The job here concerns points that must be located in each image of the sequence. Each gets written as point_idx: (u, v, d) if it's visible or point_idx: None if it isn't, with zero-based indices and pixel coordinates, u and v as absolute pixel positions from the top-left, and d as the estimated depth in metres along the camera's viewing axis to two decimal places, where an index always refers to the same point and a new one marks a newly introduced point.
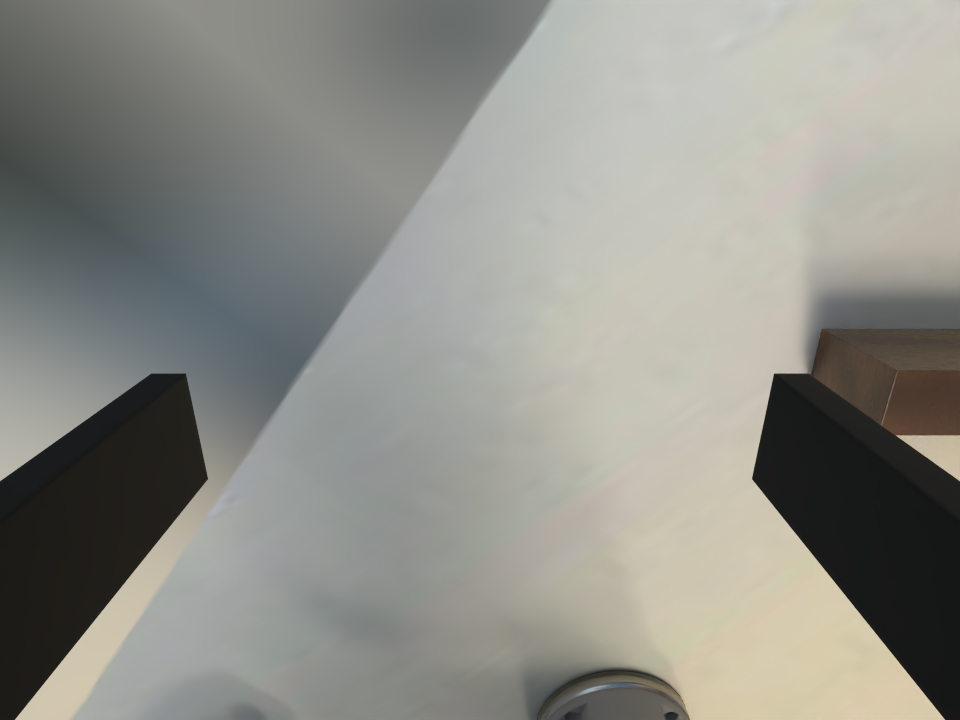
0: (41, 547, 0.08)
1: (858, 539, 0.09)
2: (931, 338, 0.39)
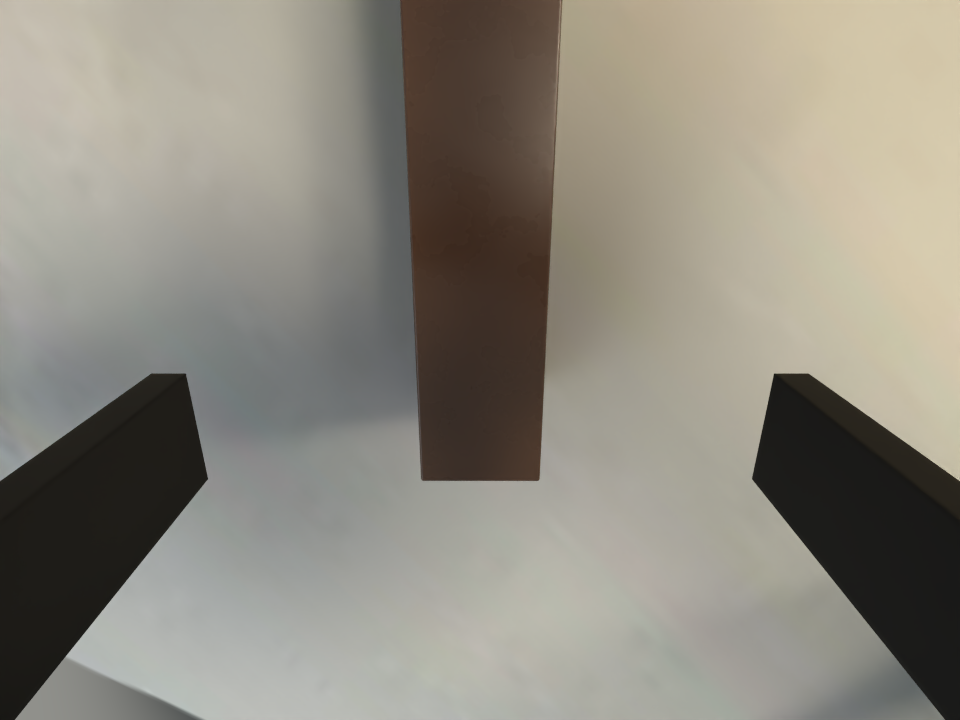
0: (41, 547, 0.08)
1: (858, 539, 0.09)
2: None
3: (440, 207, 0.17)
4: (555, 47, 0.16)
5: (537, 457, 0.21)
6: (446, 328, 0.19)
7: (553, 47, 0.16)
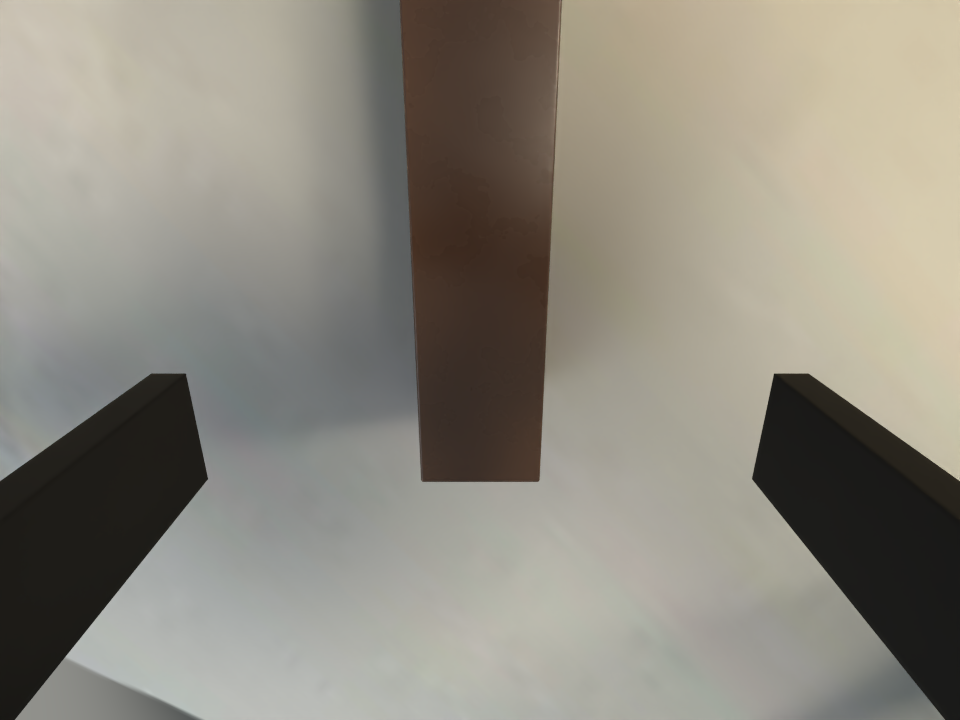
0: (41, 547, 0.08)
1: (858, 539, 0.09)
2: None
3: (440, 208, 0.17)
4: (555, 48, 0.16)
5: (537, 458, 0.21)
6: (446, 329, 0.19)
7: (553, 48, 0.16)
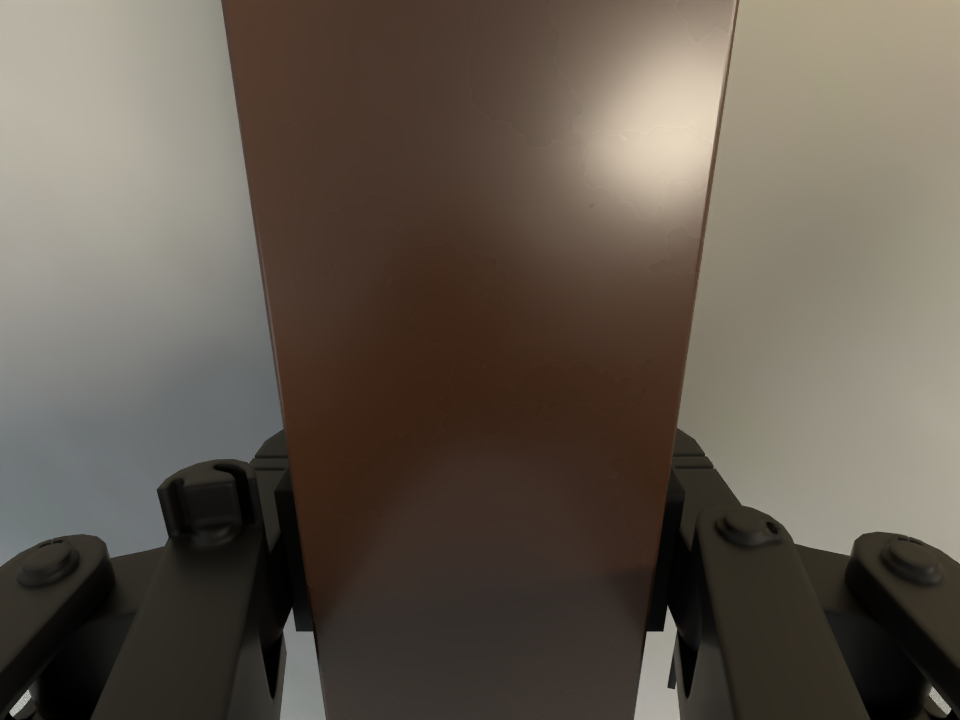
0: None
1: None
2: None
3: (361, 343, 0.06)
4: None
5: None
6: (391, 626, 0.07)
7: None
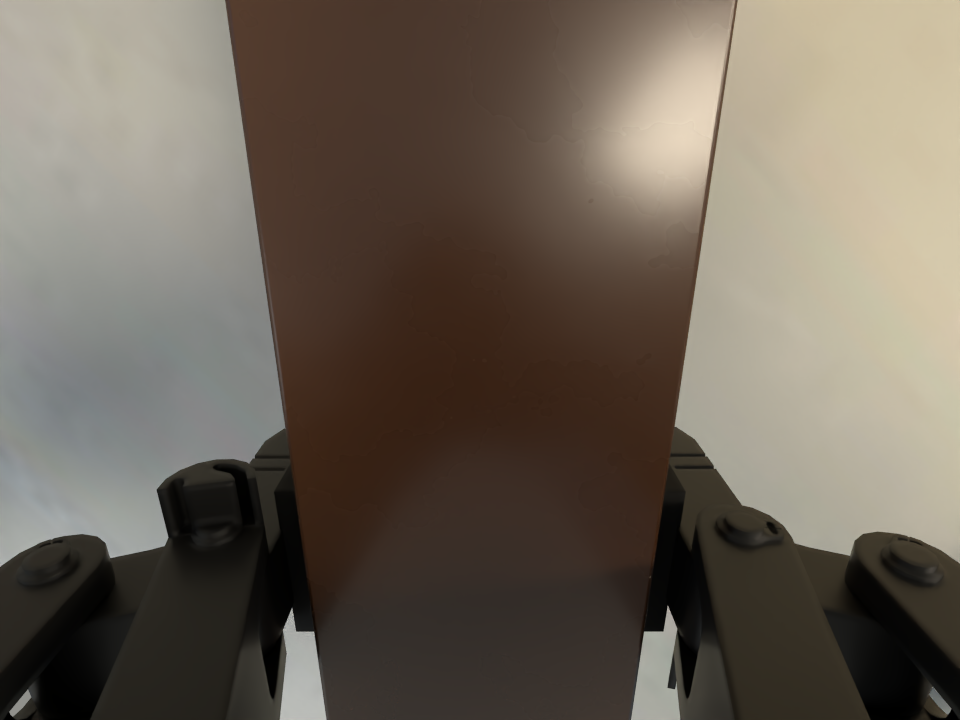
0: None
1: None
2: None
3: (362, 337, 0.06)
4: None
5: None
6: (391, 620, 0.07)
7: None
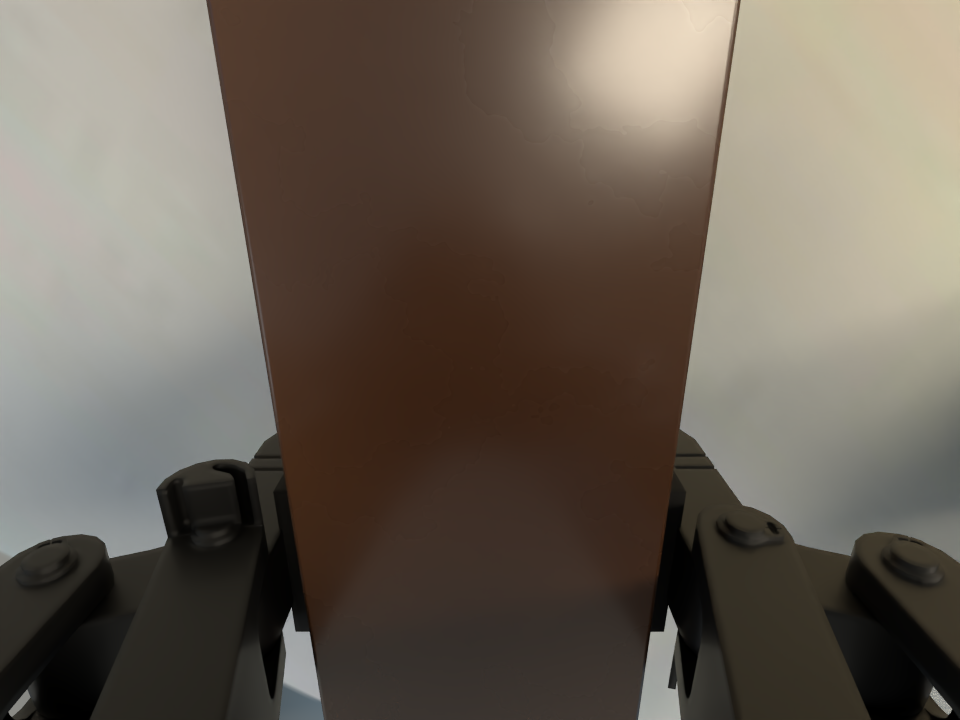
0: None
1: None
2: None
3: (356, 346, 0.06)
4: None
5: None
6: (391, 632, 0.07)
7: None
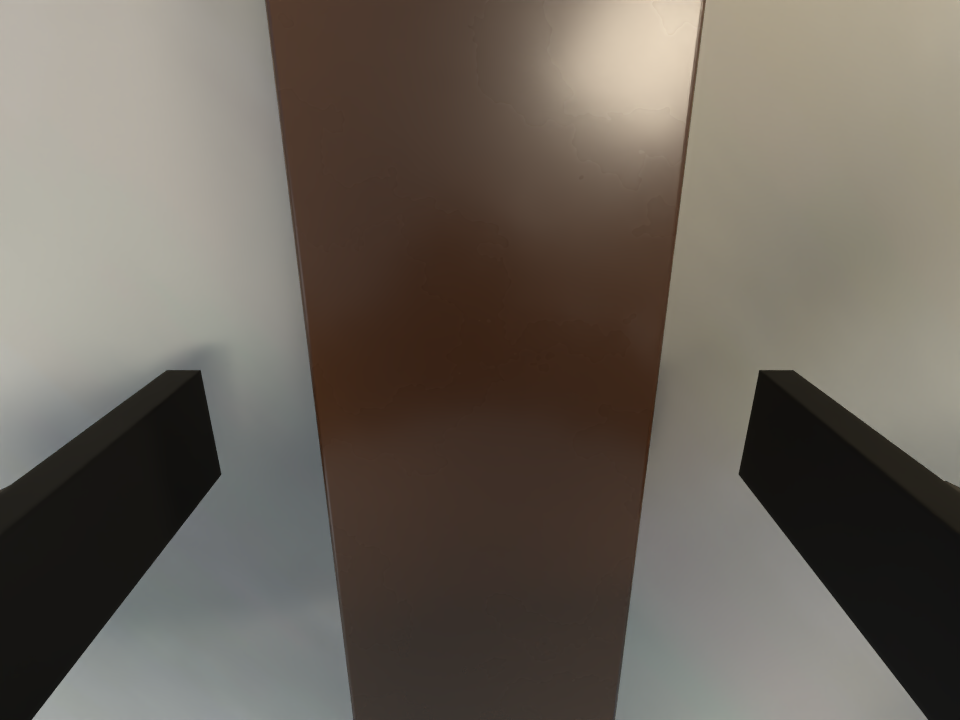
0: (66, 538, 0.08)
1: (838, 532, 0.10)
2: None
3: (381, 300, 0.07)
4: None
5: None
6: (406, 561, 0.08)
7: None
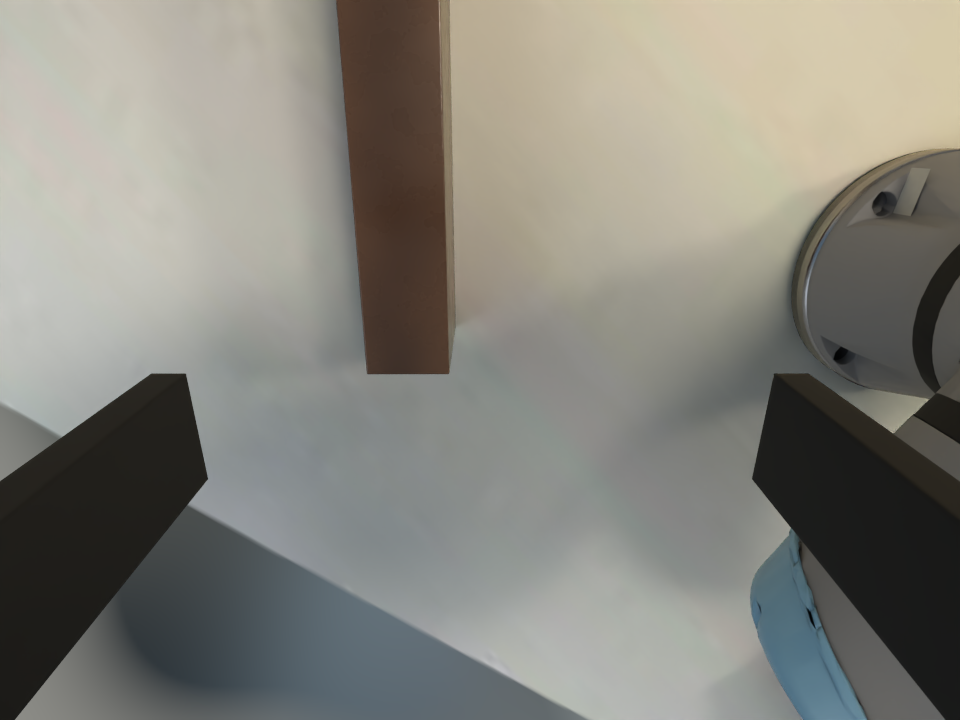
0: (42, 547, 0.08)
1: (858, 539, 0.09)
2: None
3: (371, 180, 0.27)
4: (439, 77, 0.25)
5: (446, 356, 0.30)
6: (379, 263, 0.28)
7: (438, 77, 0.25)
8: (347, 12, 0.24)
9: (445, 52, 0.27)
